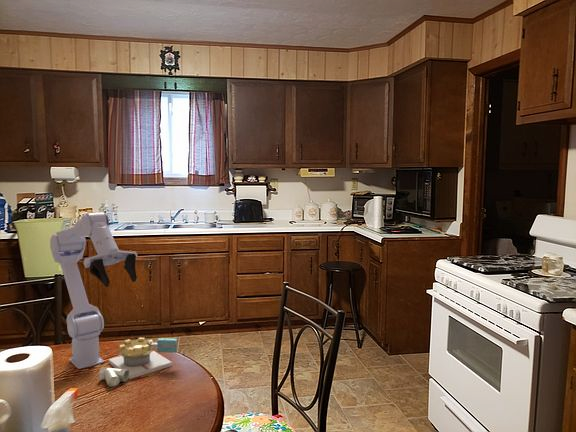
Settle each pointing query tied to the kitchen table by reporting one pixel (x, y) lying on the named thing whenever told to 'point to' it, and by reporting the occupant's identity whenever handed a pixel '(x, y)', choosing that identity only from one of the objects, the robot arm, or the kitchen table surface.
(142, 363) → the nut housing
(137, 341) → the gold gear
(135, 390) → the kitchen table surface
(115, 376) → the pipe fitting
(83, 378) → the kitchen table surface
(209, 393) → the kitchen table surface
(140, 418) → the kitchen table surface
